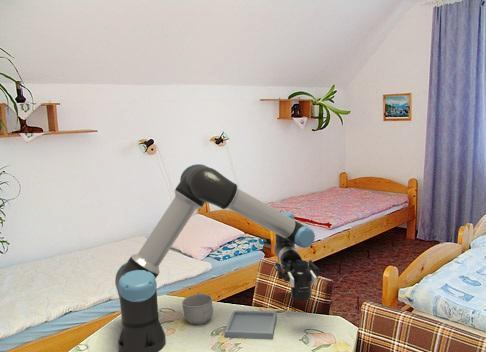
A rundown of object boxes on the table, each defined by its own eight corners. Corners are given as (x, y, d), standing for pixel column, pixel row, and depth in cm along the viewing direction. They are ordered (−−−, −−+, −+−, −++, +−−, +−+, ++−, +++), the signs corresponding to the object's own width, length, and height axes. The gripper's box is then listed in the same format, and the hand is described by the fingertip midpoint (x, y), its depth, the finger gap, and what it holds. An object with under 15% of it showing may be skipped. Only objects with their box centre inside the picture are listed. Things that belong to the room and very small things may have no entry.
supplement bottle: (303, 302, 142) (302, 267, 140) (287, 297, 147) (285, 263, 145) (315, 295, 147) (314, 261, 145) (299, 291, 152) (298, 257, 150)
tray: (224, 337, 146) (224, 331, 146) (233, 315, 161) (233, 310, 161) (272, 339, 143) (272, 333, 143) (276, 316, 159) (276, 311, 158)
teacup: (208, 328, 153) (207, 306, 152) (179, 326, 155) (177, 305, 154) (218, 310, 166) (217, 290, 165) (191, 309, 168) (190, 289, 167)
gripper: (316, 267, 165) (334, 291, 142) (264, 271, 163) (274, 295, 141) (315, 247, 164) (334, 268, 141) (263, 251, 162) (273, 273, 140)
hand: (304, 282), depth 141 cm, fingers closed on supplement bottle, 7 cm apart
